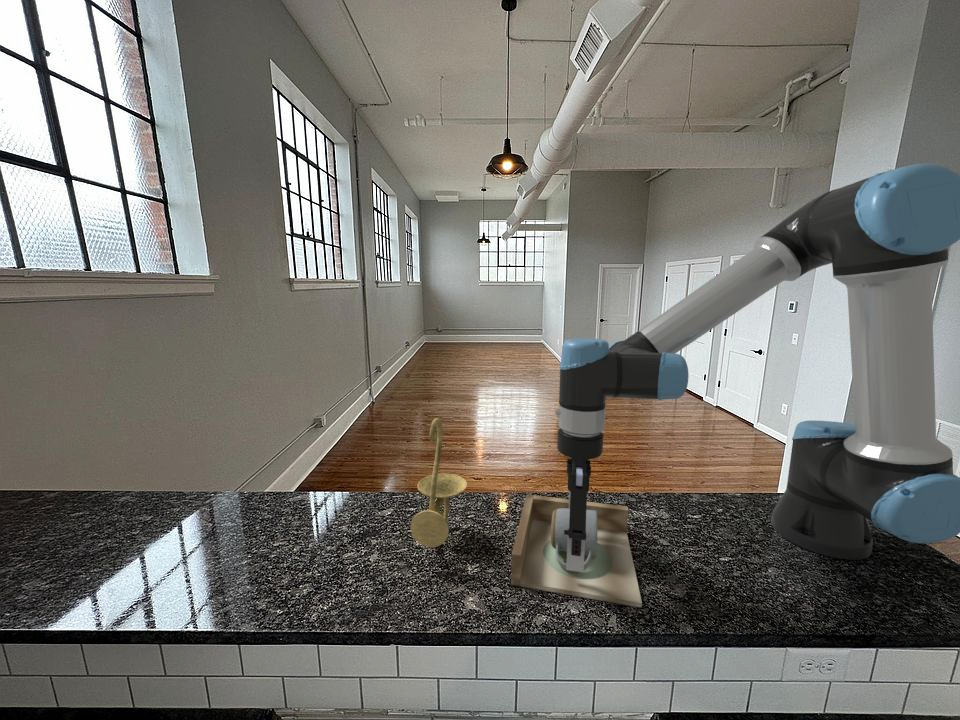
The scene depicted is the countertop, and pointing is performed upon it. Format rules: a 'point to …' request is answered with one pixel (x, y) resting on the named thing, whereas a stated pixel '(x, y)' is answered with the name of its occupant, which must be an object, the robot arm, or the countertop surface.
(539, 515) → the tray
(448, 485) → the wall sconce
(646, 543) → the countertop surface
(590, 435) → the robot arm
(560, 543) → the ceramic mug
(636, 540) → the countertop surface
